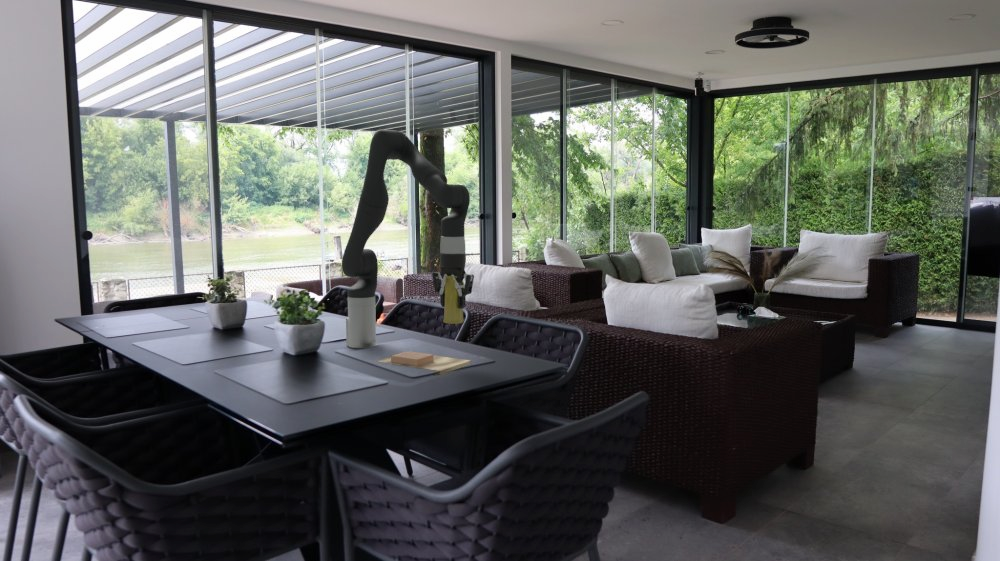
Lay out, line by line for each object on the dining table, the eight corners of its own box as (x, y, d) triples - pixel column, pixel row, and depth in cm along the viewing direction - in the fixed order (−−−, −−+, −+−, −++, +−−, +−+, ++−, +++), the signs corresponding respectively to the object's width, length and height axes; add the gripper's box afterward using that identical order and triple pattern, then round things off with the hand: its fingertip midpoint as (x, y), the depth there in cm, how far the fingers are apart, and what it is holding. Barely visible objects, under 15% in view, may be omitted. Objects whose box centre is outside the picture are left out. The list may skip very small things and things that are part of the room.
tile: (390, 355, 219) (417, 359, 214) (407, 351, 226) (433, 354, 220) (390, 362, 219) (417, 366, 214) (407, 357, 226) (433, 361, 221)
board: (375, 365, 221) (375, 361, 221) (408, 355, 235) (408, 352, 234) (440, 374, 209) (440, 370, 208) (470, 364, 222) (470, 360, 222)
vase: (454, 324, 216) (454, 276, 214) (439, 322, 220) (438, 275, 218) (467, 321, 221) (467, 275, 219) (452, 319, 224) (452, 273, 223)
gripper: (425, 251, 218) (426, 307, 220) (465, 253, 211) (465, 311, 213) (440, 250, 225) (440, 304, 226) (479, 251, 217) (479, 308, 219)
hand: (452, 307), depth 219 cm, fingers closed on vase, 5 cm apart
